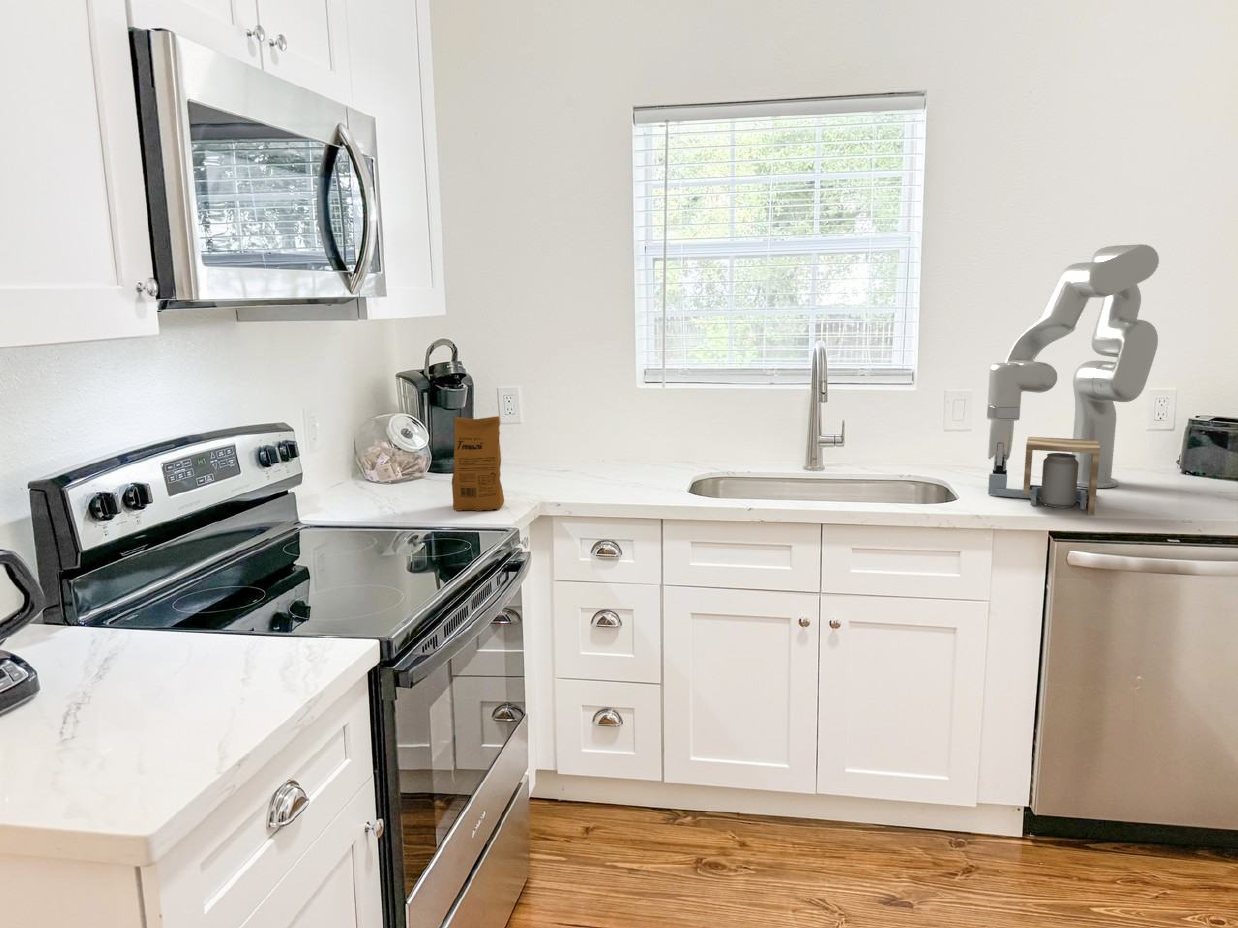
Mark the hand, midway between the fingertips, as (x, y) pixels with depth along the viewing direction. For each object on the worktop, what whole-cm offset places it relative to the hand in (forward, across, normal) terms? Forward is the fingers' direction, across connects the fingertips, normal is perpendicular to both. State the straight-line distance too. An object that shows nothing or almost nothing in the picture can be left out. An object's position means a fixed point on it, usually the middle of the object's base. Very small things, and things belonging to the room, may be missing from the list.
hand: (998, 485), depth 235 cm
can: (+2, +11, +14) cm, 18 cm away
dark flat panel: (+1, +1, +14) cm, 14 cm away
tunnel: (+1, +14, +14) cm, 19 cm away
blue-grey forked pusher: (+1, +10, +9) cm, 14 cm away
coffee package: (+2, +64, -113) cm, 130 cm away
